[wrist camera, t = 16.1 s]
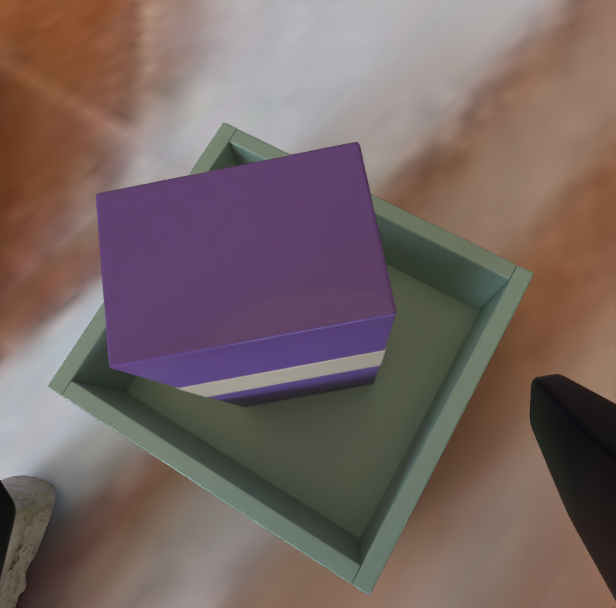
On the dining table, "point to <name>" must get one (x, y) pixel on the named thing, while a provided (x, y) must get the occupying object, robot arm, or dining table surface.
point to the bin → (327, 399)
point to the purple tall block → (248, 279)
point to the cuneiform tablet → (24, 532)
